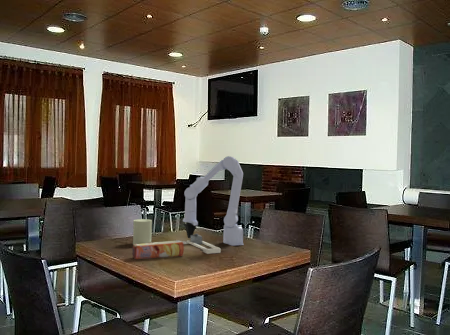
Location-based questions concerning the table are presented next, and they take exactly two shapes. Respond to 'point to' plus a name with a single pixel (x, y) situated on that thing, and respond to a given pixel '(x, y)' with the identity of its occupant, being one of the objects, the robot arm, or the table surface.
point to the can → (142, 231)
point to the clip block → (196, 239)
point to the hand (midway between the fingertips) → (190, 237)
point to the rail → (205, 250)
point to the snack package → (158, 250)
